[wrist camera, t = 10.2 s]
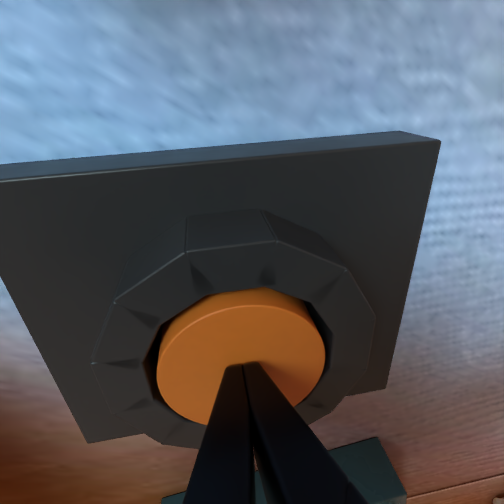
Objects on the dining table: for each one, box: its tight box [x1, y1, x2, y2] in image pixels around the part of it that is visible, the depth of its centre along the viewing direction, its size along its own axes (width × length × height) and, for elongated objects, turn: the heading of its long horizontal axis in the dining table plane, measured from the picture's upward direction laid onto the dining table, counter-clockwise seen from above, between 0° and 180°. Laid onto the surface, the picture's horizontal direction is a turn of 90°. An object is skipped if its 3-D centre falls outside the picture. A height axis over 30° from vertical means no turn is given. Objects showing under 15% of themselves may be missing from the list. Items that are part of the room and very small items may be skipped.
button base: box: [0, 131, 441, 449], centre depth 10 cm, size 12×10×4 cm
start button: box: [157, 287, 325, 425], centre depth 9 cm, size 4×4×2 cm
